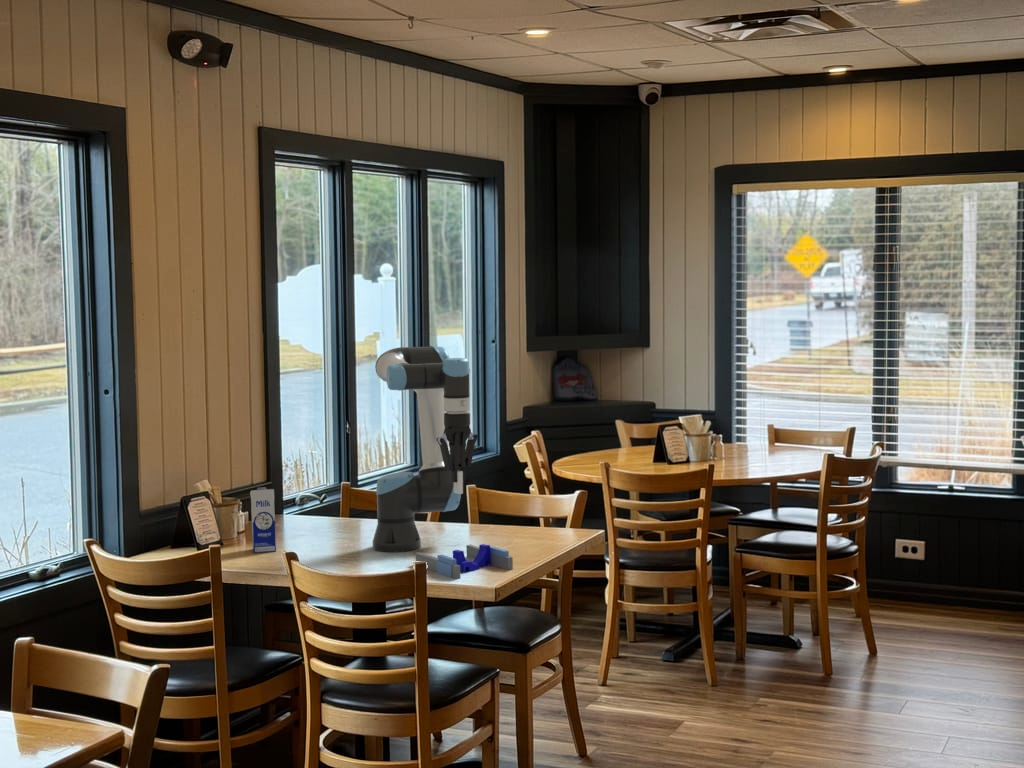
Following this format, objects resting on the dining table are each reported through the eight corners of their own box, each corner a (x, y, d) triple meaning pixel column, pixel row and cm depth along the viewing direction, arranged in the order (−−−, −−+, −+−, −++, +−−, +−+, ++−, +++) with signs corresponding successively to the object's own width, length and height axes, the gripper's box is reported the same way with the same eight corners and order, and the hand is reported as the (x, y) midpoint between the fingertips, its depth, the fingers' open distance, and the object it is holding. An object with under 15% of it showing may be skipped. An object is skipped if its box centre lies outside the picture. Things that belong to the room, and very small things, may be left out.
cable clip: (463, 573, 340) (463, 552, 340) (453, 571, 343) (452, 550, 343) (494, 566, 349) (493, 545, 348) (483, 564, 352) (483, 544, 351)
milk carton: (253, 553, 374) (251, 489, 372) (252, 549, 380) (249, 486, 379) (276, 551, 375) (274, 488, 374) (274, 547, 382) (272, 485, 381)
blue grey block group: (414, 564, 352) (414, 548, 351) (470, 556, 362) (470, 539, 362) (454, 579, 333) (454, 561, 332) (512, 569, 343) (512, 552, 343)
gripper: (444, 415, 337) (445, 497, 339) (483, 411, 344) (484, 492, 346) (430, 412, 343) (432, 493, 345) (469, 409, 350) (470, 488, 352)
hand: (458, 493), depth 346 cm, fingers closed
